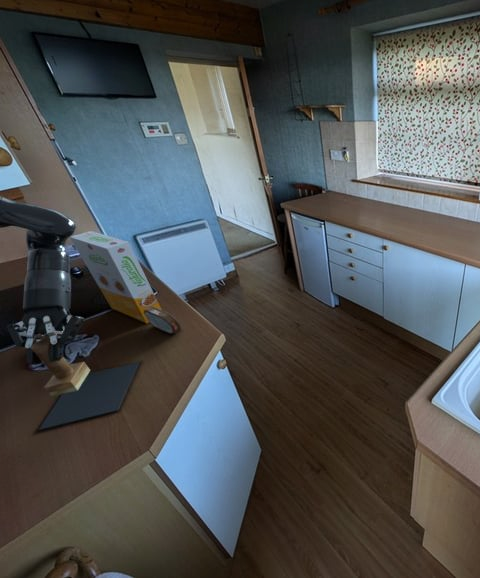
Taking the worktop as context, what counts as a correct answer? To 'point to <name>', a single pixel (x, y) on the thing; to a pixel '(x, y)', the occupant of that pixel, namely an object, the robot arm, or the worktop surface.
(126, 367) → the mat
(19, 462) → the worktop surface
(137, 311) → the cereal box
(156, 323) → the tin
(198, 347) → the worktop surface
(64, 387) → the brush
